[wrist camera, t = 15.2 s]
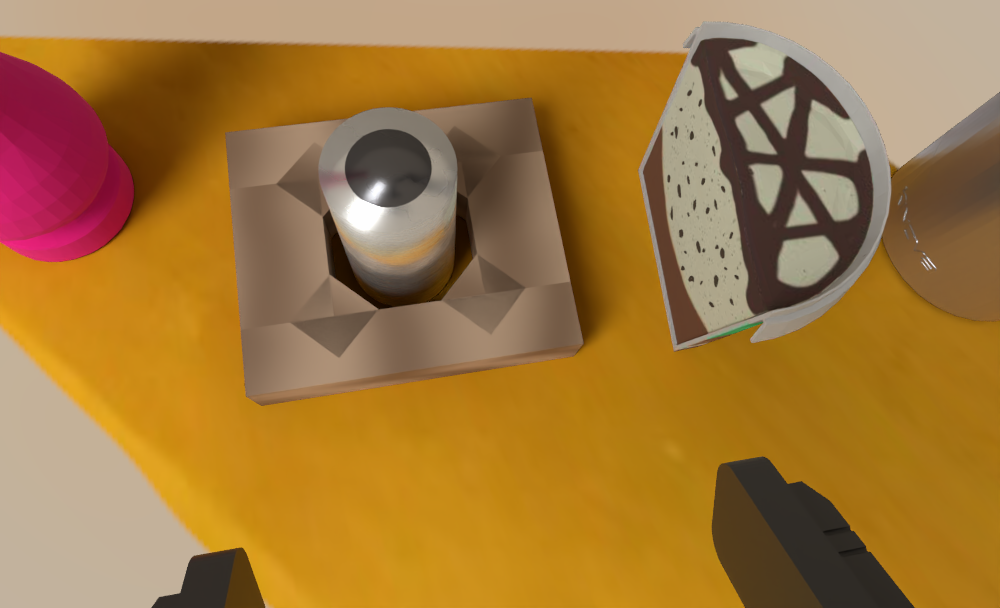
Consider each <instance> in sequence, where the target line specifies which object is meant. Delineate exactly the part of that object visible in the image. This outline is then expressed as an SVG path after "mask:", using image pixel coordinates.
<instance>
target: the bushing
mask: <svg viewBox="0 0 1000 608" xmlns="http://www.w3.org/2000/svg"><path fill="white" fill-rule="evenodd" d="M319 180H320V185H321V188H322V191H323V194H324V196H325V199H326V201H327V204H328V207H329V209H330V212H331V215H332V217H333V220H334V223H335V225H336V228H337V231H338V233H339V236H340V238H341V241H342V244H343V246H344V249H345V252H346V254H347V257H348V260H349V262H350V265H351V267H352V270H353V273H354V275H355V278H356V280H357V282H358V283H359V285H360V286H361V288H362V289H363V290H364V291H365V292H366V293H367V294H368V295H369V296H371V297H372V298H374V299H375V300H377V301H379V302H381V303H384V304H387V305H391V306H396V307H400V306H407V305H414V304H421V303H424V302H426V301H428V300H430V299H431V298H433V297H434V296H436V295H437V294H438V293H439V292H440V291H441V290H442V289H443V288H444V287H445V285H446V284H447V282H448V281H449V279H450V277H451V274H452V271H453V268H454V259H455V228H456V197H457V159H456V155H455V151H454V149H453V146H452V144H451V142H450V141H449V139H448V137H447V136H446V135H445V133H444V132H443V131H442V130H441V129H440V128H439V127H438V126H437V125H436V124H435V123H433V122H432V121H431V120H429V119H428V118H426V117H424V116H423V115H420V114H418V113H416V112H413V111H410V110H406V109H401V108H390V107H388V108H376V109H371V110H367V111H364V112H361V113H359V114H356V115H354V116H353V117H351V118H349V119H347V120H346V121H345V122H343V123H342V124H341V125H339V126H338V127H337V128H336V129H335V130H334V131H333V133H332V134H331V135H330V137H329V138H328V140H327V141H326V143H325V145H324V147H323V150H322V152H321V156H320V160H319Z"/></svg>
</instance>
